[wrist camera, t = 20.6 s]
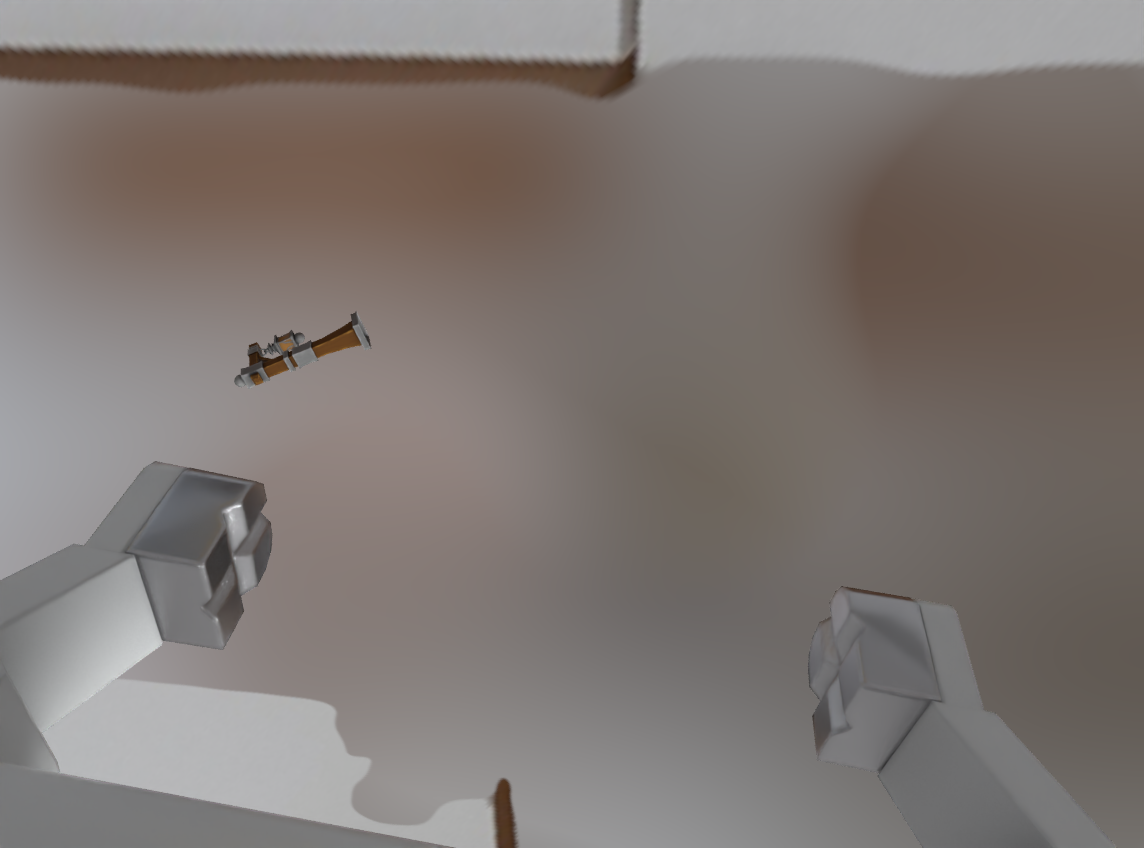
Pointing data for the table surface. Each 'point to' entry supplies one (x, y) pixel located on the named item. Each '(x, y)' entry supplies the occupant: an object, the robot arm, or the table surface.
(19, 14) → the table surface
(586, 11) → the table surface
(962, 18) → the table surface
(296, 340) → the toy blunderbuss
